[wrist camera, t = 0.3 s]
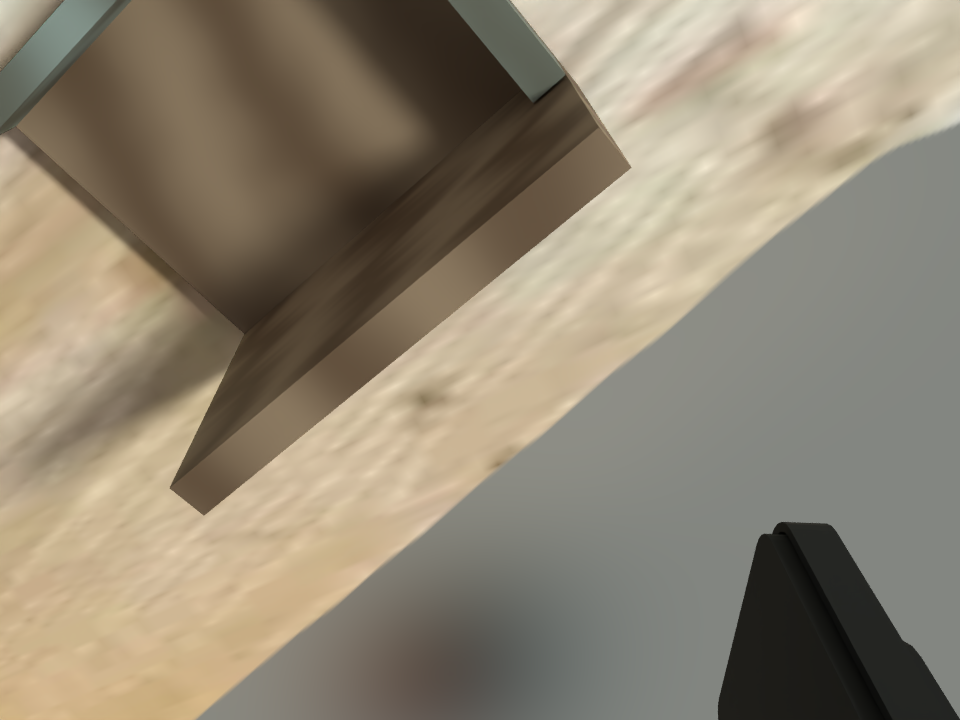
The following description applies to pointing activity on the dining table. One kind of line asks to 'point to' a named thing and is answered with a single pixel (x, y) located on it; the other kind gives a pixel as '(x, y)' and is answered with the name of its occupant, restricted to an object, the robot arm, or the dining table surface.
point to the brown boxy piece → (311, 177)
